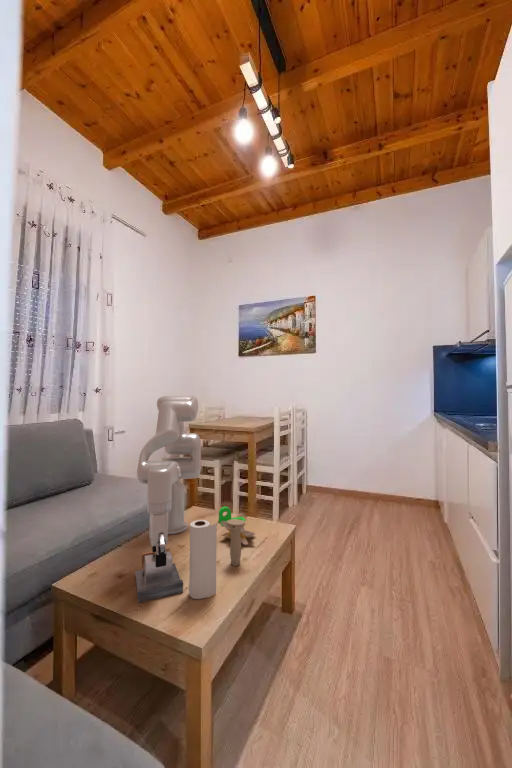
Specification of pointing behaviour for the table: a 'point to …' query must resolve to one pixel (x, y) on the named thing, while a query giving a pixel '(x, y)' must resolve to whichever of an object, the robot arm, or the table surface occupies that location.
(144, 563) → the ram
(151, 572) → the block
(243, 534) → the decorative flower
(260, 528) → the table surface
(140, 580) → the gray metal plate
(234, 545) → the handle
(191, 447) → the robot arm
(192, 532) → the paper towel roll
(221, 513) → the mechanical part
